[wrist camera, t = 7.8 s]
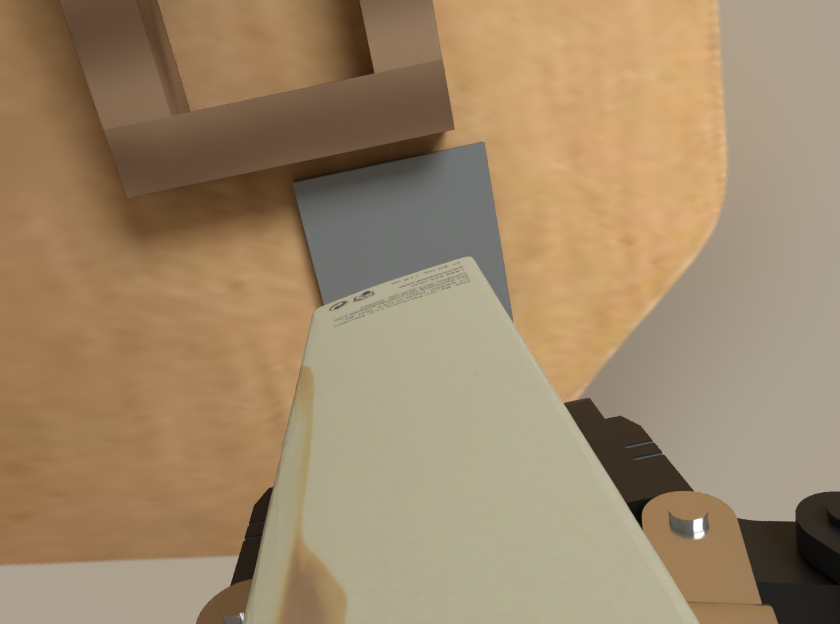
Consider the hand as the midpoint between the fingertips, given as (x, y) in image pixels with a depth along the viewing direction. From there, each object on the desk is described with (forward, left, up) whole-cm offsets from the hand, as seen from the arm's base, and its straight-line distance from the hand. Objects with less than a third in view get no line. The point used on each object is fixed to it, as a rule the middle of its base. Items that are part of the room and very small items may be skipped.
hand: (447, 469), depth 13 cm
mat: (0, 0, -20) cm, 20 cm away
